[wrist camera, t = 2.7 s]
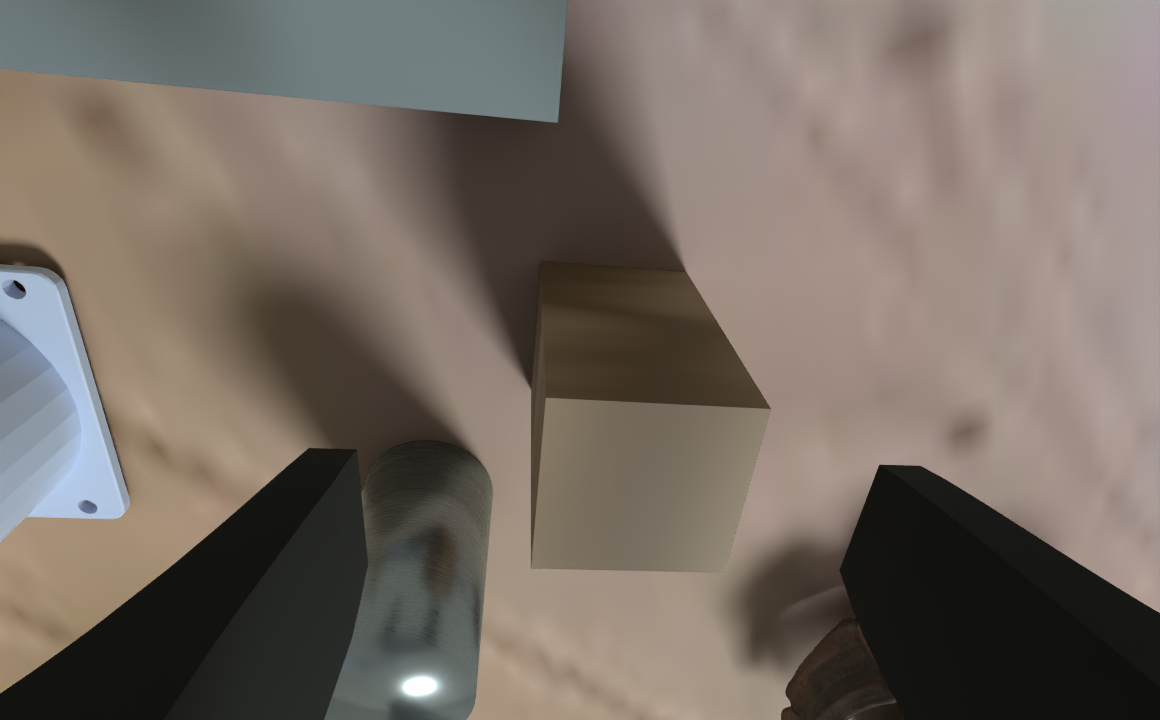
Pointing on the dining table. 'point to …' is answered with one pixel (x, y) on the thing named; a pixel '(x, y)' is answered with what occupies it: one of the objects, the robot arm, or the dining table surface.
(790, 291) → the dining table surface
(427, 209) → the dining table surface
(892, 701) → the pottery mug
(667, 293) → the square peg
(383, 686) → the round peg
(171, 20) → the socket block
